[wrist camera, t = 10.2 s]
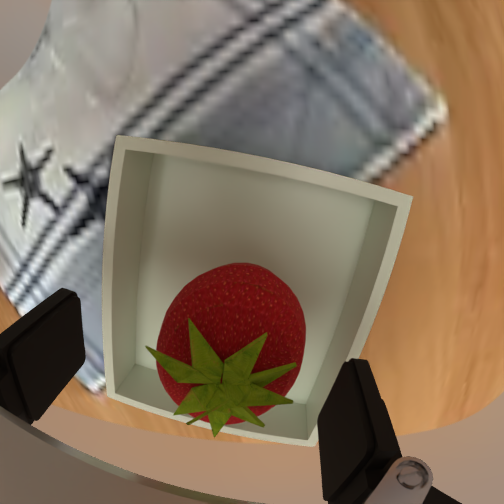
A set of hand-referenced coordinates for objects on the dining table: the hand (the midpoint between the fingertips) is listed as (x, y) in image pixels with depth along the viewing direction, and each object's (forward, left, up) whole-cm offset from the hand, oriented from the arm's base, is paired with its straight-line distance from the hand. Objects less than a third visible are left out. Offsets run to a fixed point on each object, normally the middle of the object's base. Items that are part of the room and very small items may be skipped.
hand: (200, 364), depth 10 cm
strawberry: (+1, +1, -8) cm, 8 cm away
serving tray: (+1, 0, -8) cm, 8 cm away
